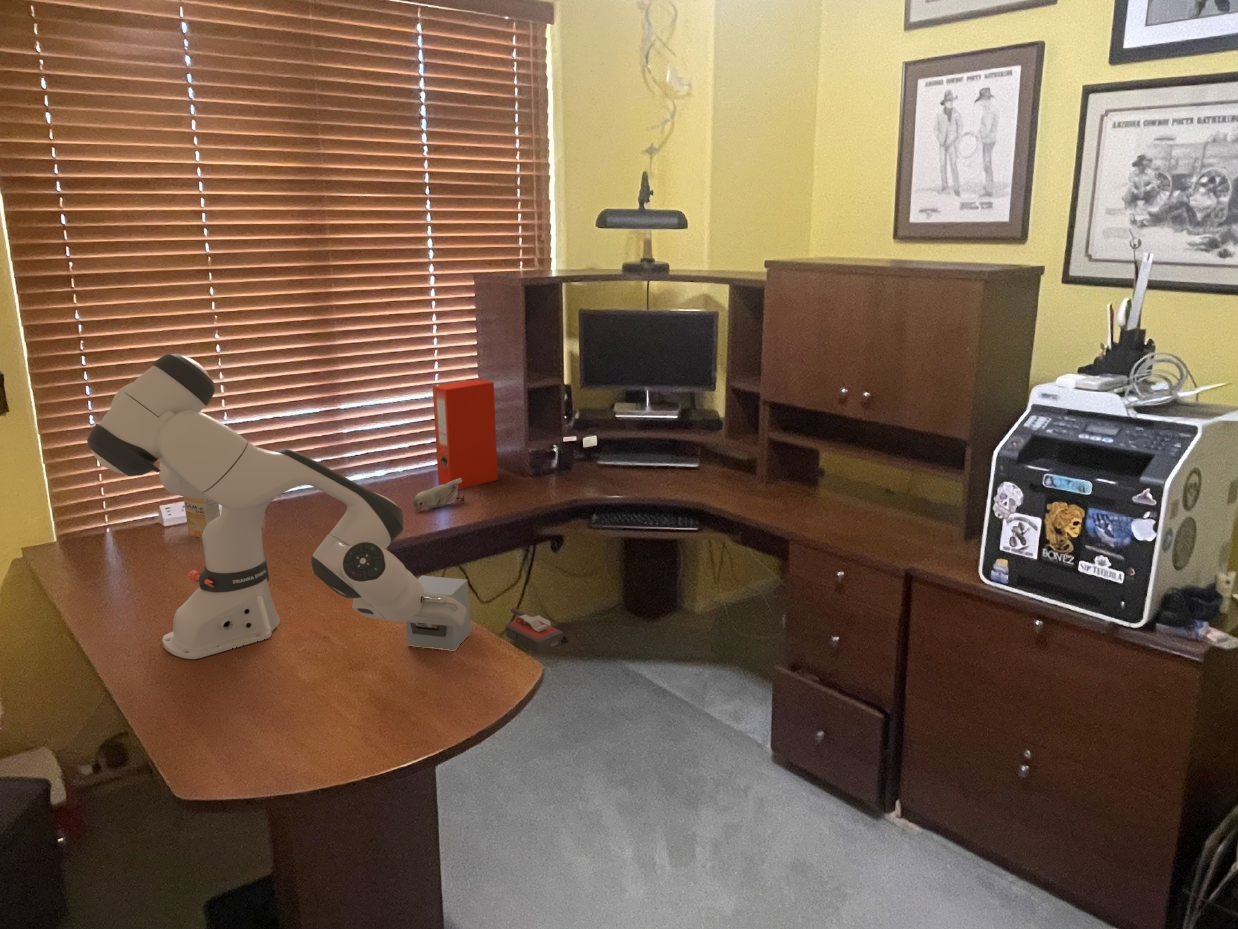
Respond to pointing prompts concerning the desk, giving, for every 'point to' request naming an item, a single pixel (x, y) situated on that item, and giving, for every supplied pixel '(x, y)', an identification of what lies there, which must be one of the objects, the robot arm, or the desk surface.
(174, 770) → the desk surface
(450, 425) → the file binder
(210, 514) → the supplement box
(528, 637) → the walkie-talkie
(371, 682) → the desk surface
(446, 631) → the housing
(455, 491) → the decorative bird
